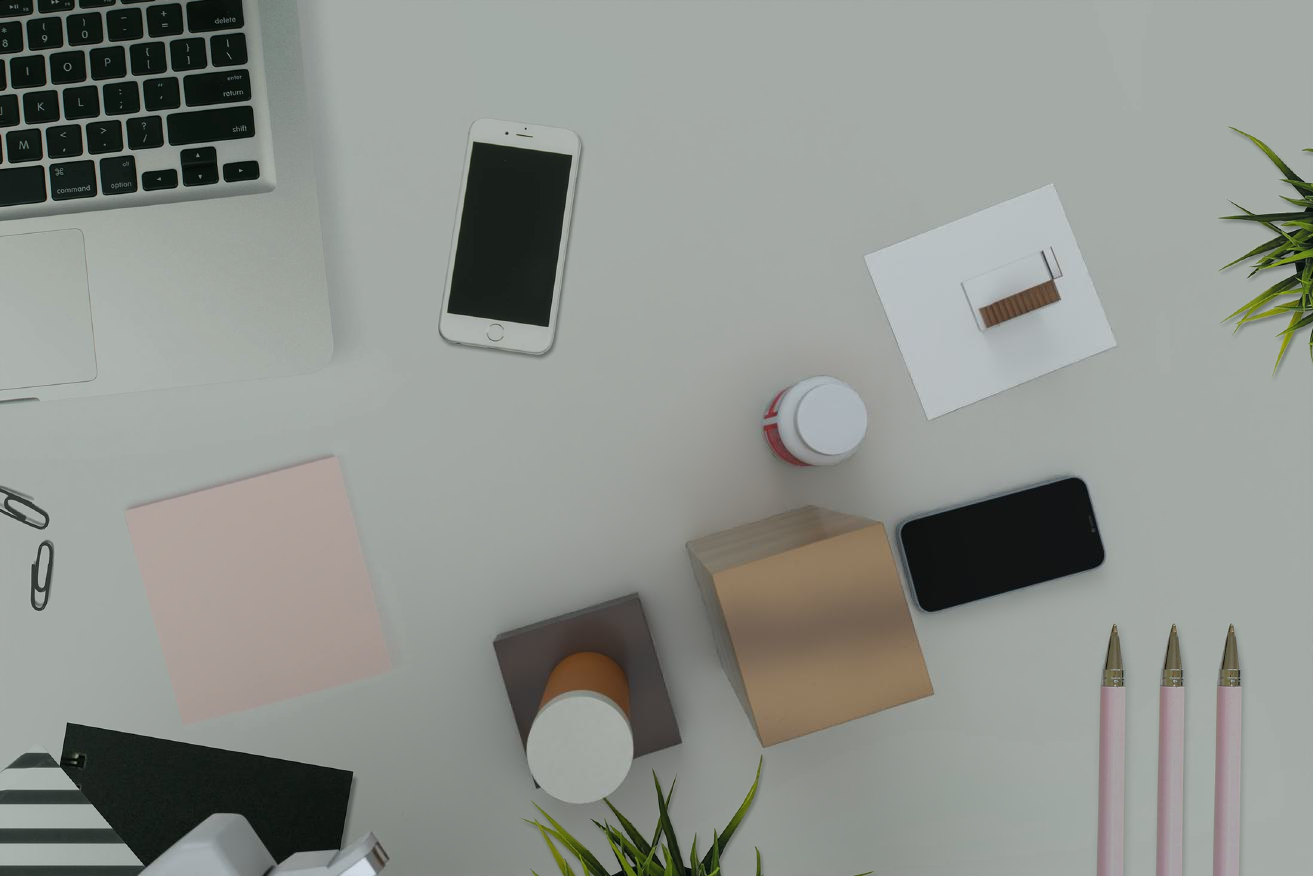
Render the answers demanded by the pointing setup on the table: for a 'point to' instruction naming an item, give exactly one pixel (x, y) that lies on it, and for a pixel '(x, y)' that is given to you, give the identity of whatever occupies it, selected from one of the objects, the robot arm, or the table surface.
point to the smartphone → (1001, 544)
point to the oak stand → (809, 620)
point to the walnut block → (601, 631)
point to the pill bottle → (815, 422)
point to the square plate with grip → (990, 301)
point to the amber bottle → (582, 730)
